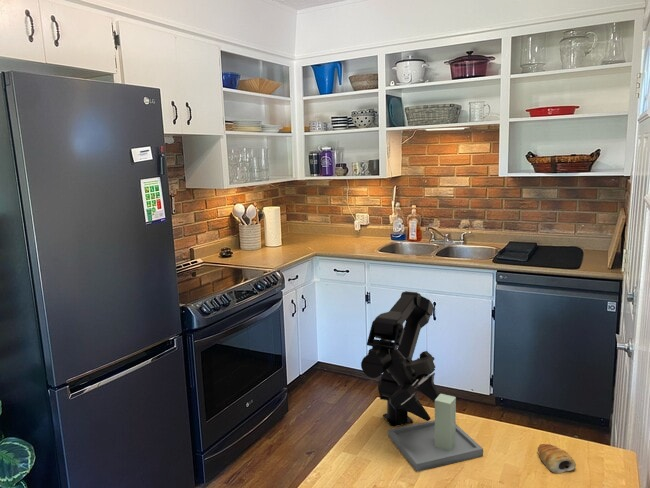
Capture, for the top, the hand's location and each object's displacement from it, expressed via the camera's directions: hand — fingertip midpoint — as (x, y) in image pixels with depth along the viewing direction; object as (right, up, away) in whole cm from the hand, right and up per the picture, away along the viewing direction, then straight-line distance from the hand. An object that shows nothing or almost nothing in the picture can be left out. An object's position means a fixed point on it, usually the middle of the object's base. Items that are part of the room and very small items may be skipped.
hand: (435, 411), depth 126 cm
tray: (0, -9, +1) cm, 9 cm away
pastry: (+27, -10, -7) cm, 30 cm away
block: (+2, -8, 0) cm, 8 cm away
